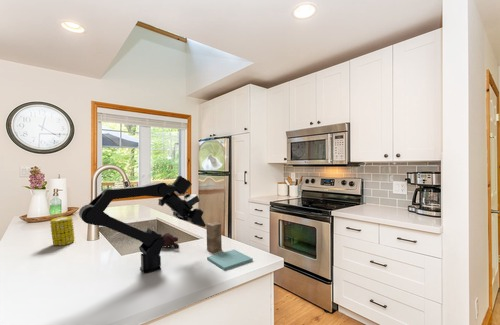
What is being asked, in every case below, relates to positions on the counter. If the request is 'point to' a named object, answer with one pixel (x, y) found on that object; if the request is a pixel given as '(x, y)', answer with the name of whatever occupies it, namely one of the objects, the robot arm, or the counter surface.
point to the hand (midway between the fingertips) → (199, 224)
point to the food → (62, 230)
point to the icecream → (170, 240)
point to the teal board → (229, 259)
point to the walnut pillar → (214, 237)
